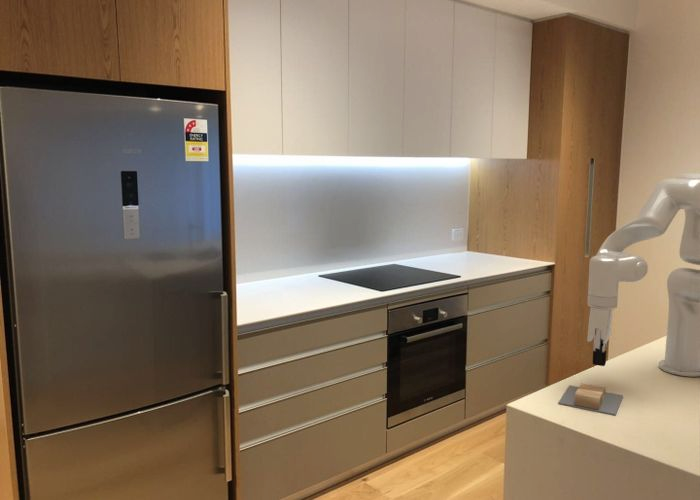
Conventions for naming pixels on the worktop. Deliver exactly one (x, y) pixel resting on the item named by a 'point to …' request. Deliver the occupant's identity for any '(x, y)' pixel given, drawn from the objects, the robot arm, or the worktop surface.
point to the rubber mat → (607, 407)
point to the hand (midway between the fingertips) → (599, 364)
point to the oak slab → (589, 396)
